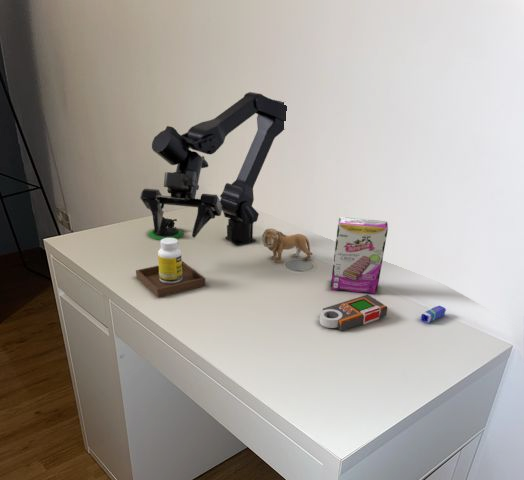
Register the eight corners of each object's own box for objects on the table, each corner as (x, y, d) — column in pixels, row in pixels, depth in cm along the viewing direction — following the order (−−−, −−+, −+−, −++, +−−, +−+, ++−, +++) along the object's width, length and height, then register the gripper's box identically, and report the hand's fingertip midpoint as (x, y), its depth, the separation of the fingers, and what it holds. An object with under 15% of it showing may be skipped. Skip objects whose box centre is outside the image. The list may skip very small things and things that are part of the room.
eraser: (419, 320, 117) (421, 312, 116) (437, 312, 120) (439, 304, 119) (427, 324, 115) (429, 315, 114) (444, 316, 119) (446, 308, 118)
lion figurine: (266, 266, 138) (267, 233, 134) (258, 259, 143) (259, 226, 138) (316, 259, 144) (319, 226, 139) (307, 252, 148) (310, 220, 143)
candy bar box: (329, 290, 128) (337, 223, 119) (330, 281, 132) (337, 216, 123) (377, 295, 127) (388, 227, 118) (377, 286, 131) (387, 220, 122)
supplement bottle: (180, 285, 127) (178, 245, 121) (157, 284, 127) (154, 244, 122) (184, 275, 131) (182, 236, 126) (162, 274, 131) (159, 235, 126)
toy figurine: (188, 229, 160) (187, 210, 156) (176, 241, 151) (175, 221, 148) (156, 226, 161) (155, 207, 158) (142, 237, 153) (140, 217, 150)
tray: (182, 267, 136) (181, 260, 135) (205, 285, 128) (205, 278, 127) (136, 277, 130) (135, 270, 129) (157, 297, 122) (157, 289, 121)
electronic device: (313, 310, 114) (369, 292, 120) (312, 322, 116) (367, 304, 122) (332, 324, 109) (389, 305, 115) (331, 336, 111) (387, 317, 117)
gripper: (139, 153, 124) (124, 215, 121) (217, 159, 121) (204, 223, 118) (154, 179, 135) (141, 236, 132) (227, 185, 132) (215, 244, 129)
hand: (174, 235), depth 127 cm, fingers open, 9 cm apart
